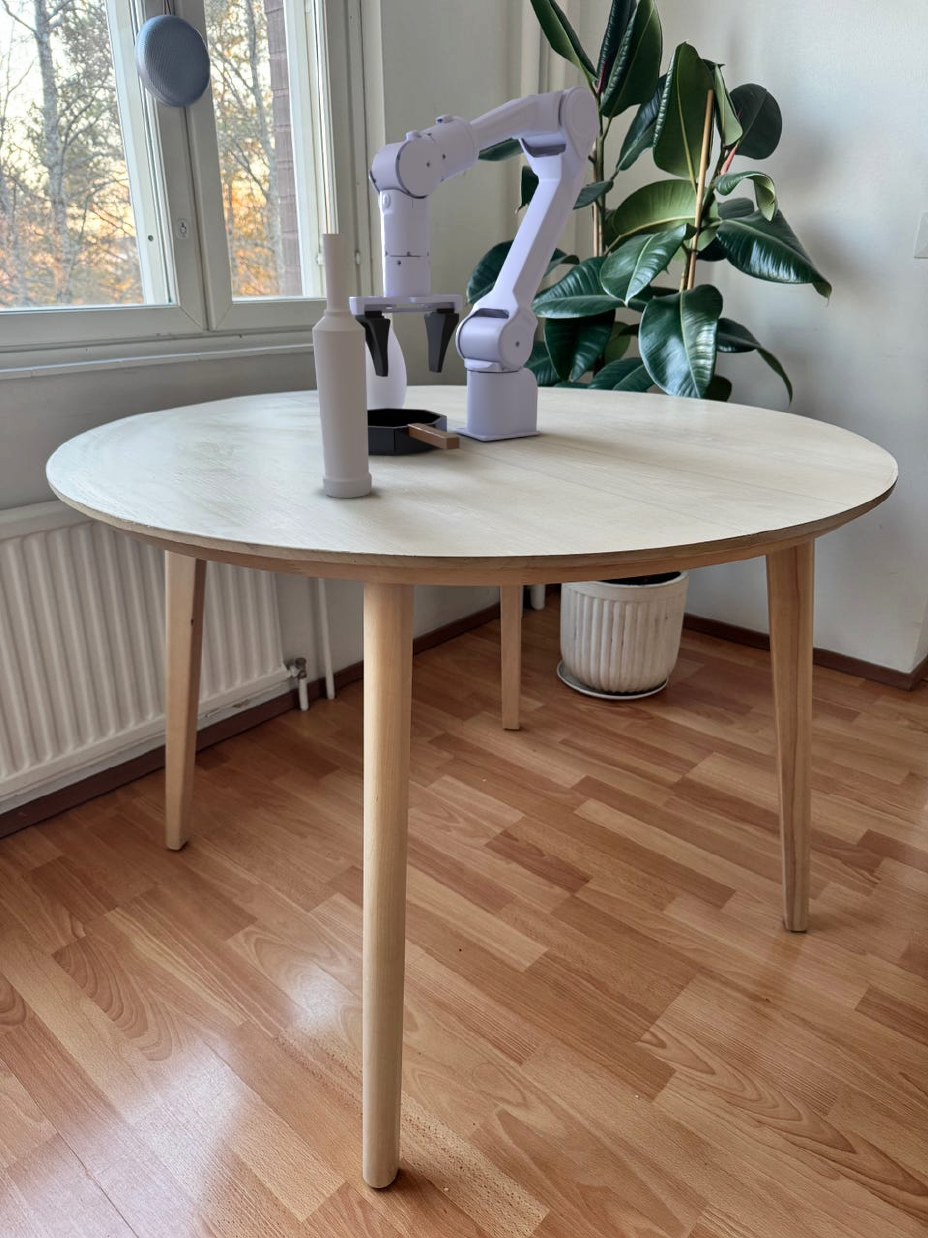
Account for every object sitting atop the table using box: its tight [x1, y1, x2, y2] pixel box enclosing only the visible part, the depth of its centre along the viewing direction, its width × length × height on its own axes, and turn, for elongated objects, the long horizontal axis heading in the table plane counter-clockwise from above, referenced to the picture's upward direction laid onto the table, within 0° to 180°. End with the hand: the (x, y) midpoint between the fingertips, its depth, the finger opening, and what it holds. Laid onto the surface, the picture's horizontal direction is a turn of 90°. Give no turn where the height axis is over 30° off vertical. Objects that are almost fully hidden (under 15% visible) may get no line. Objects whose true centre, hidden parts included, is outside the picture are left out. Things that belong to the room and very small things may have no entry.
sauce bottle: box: [365, 294, 408, 410], centre depth 120 cm, size 8×8×18 cm
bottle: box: [311, 233, 373, 499], centre depth 84 cm, size 5×5×25 cm
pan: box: [367, 407, 461, 456], centre depth 107 cm, size 14×24×4 cm, turn 31°
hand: (409, 373), depth 105 cm, fingers open, 7 cm apart
